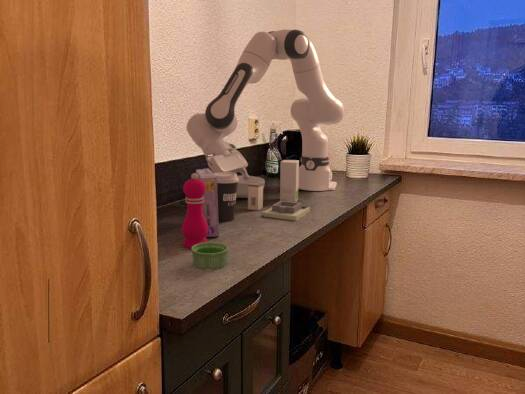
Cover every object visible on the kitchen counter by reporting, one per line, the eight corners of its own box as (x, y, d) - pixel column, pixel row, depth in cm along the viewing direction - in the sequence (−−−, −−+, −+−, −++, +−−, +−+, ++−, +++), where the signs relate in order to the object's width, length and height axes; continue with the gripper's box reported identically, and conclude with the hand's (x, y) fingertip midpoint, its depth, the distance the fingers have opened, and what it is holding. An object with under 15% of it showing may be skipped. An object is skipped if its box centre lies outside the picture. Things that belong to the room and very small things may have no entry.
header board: (278, 207, 177) (278, 198, 176) (309, 211, 172) (310, 201, 172) (263, 216, 165) (263, 206, 164) (296, 220, 160) (296, 210, 159)
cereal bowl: (246, 202, 184) (246, 184, 183) (214, 196, 194) (214, 179, 193) (272, 195, 198) (273, 178, 196) (241, 190, 207) (241, 173, 206)
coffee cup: (216, 224, 154) (216, 177, 151) (205, 217, 163) (205, 172, 159) (243, 220, 159) (244, 175, 155) (231, 214, 167) (232, 171, 164)
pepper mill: (182, 241, 136) (181, 170, 132) (208, 241, 137) (208, 171, 133) (180, 249, 129) (179, 175, 125) (208, 249, 130) (207, 175, 126)
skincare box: (295, 203, 185) (297, 162, 181) (278, 202, 186) (279, 161, 182) (298, 198, 193) (299, 159, 189) (282, 197, 194) (283, 159, 191)
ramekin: (218, 273, 113) (218, 255, 112) (184, 267, 117) (184, 250, 116) (234, 261, 122) (234, 244, 121) (202, 256, 125) (202, 240, 124)
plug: (252, 206, 178) (253, 182, 176) (262, 208, 176) (263, 183, 175) (248, 209, 174) (248, 184, 173) (258, 210, 173) (258, 185, 171)
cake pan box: (195, 221, 157) (195, 167, 153) (211, 220, 158) (211, 167, 154) (202, 239, 139) (201, 178, 135) (219, 238, 140) (219, 177, 136)
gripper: (209, 149, 167) (234, 180, 165) (236, 144, 185) (259, 171, 183) (198, 161, 169) (223, 191, 168) (226, 155, 188) (248, 182, 186)
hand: (242, 181), depth 176 cm, fingers open, 8 cm apart
